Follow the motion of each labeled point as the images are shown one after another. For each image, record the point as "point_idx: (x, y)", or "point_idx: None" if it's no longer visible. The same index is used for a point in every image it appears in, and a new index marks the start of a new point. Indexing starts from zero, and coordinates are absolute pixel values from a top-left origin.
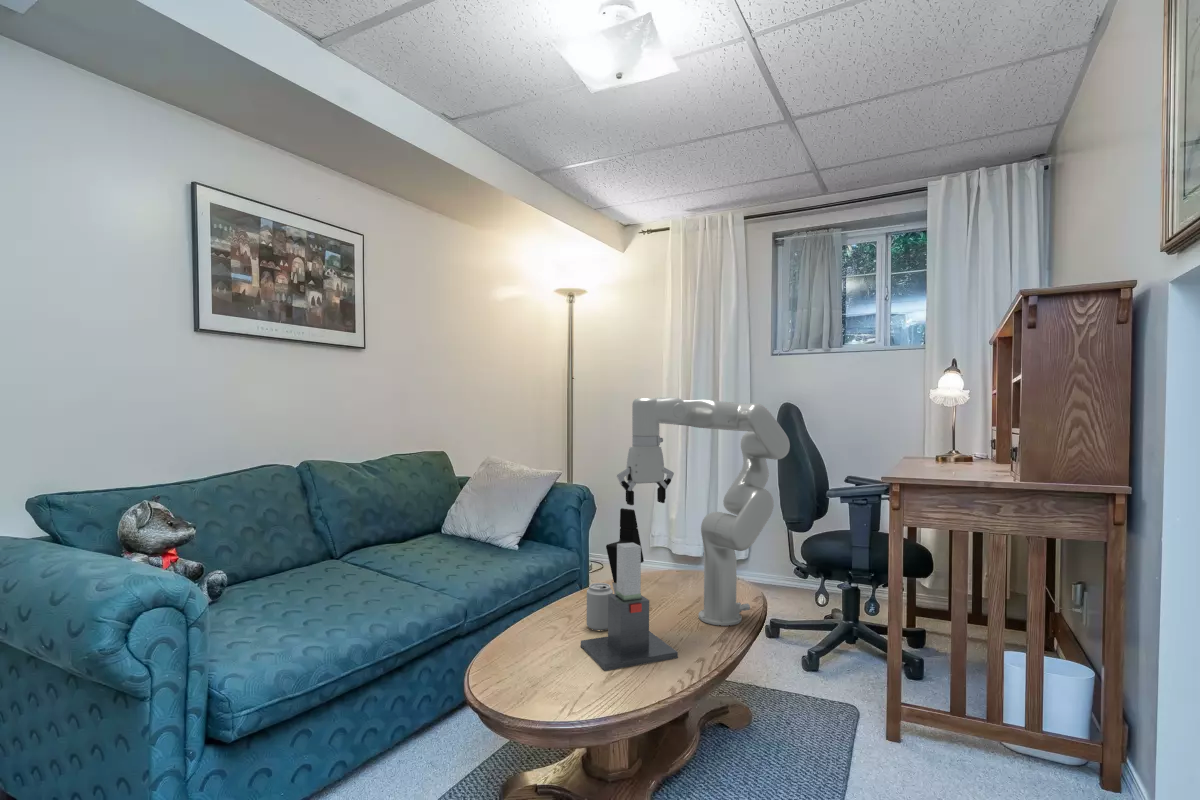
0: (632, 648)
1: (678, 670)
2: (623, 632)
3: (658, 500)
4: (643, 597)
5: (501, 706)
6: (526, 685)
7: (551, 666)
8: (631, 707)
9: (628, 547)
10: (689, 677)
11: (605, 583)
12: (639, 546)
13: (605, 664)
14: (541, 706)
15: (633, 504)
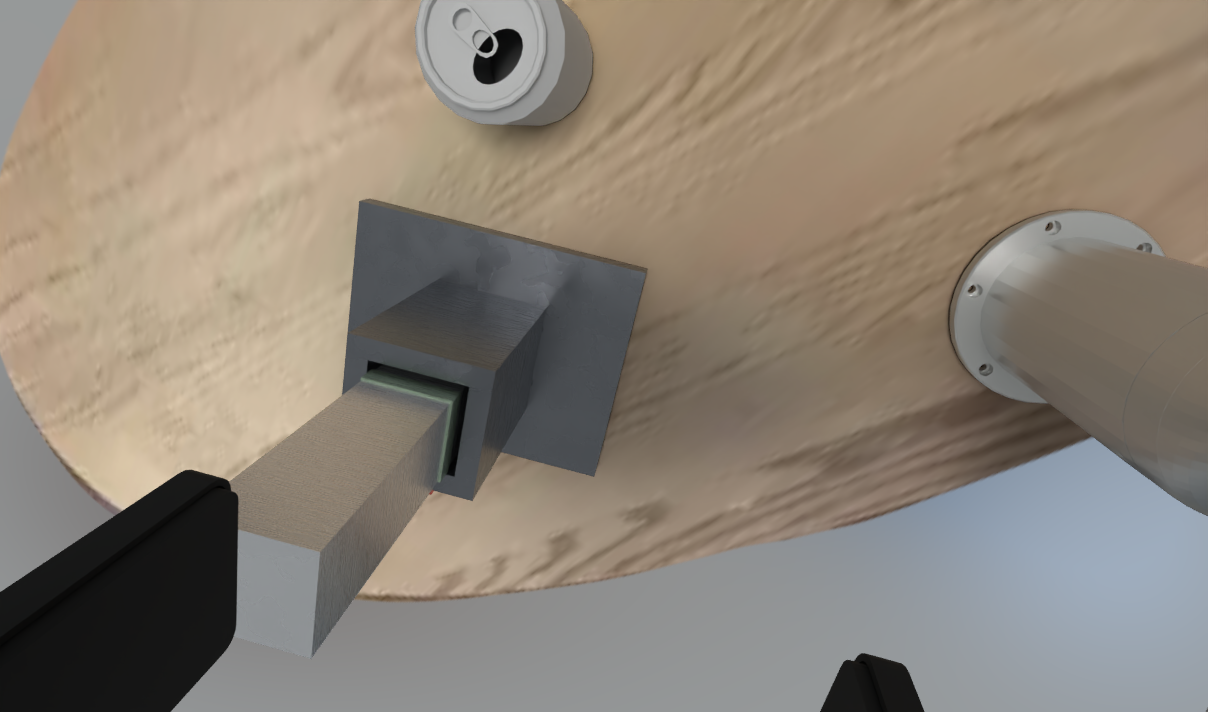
0: None
1: (539, 521)
2: None
3: (836, 706)
4: (472, 461)
5: (41, 401)
6: (120, 343)
7: (220, 280)
8: None
9: None
10: (535, 564)
11: (535, 15)
12: (301, 654)
13: None
14: (128, 456)
15: (224, 641)
